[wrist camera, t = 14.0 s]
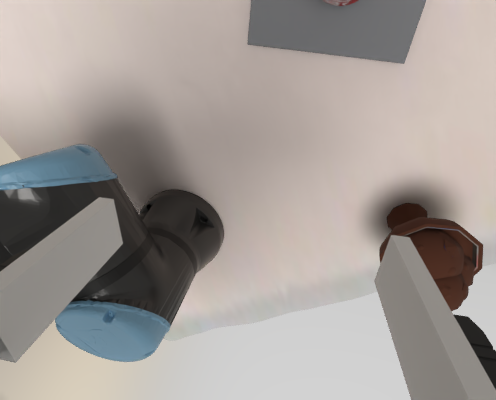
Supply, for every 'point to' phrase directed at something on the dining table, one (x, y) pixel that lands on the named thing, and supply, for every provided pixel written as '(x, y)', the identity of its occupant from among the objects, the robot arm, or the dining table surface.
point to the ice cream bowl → (439, 249)
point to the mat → (337, 27)
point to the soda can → (340, 2)
